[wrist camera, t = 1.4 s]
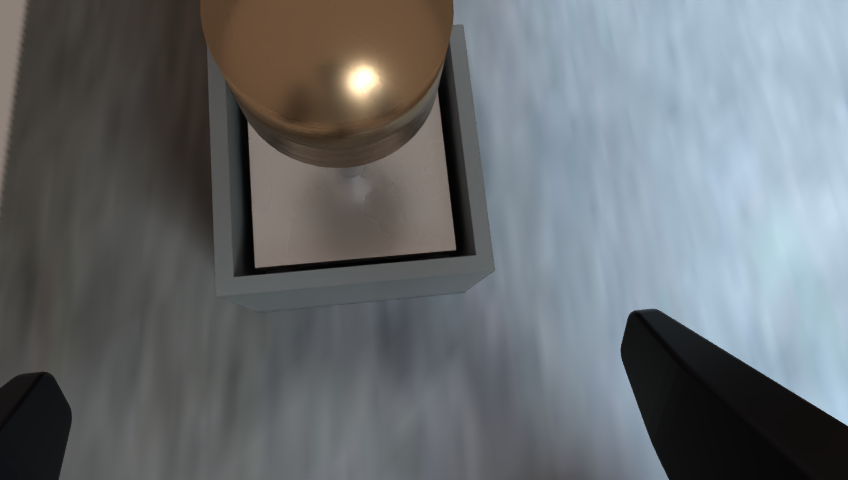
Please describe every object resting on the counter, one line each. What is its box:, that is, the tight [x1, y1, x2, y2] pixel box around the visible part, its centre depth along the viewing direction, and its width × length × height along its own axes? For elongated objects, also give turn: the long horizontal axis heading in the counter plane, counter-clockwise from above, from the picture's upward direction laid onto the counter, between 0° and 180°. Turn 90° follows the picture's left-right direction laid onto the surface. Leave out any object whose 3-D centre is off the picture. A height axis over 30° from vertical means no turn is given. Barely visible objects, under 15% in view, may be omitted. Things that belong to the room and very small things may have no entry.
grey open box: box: [207, 25, 495, 312], centre depth 20 cm, size 9×8×6 cm
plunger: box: [200, 0, 456, 271], centre depth 15 cm, size 6×6×9 cm
